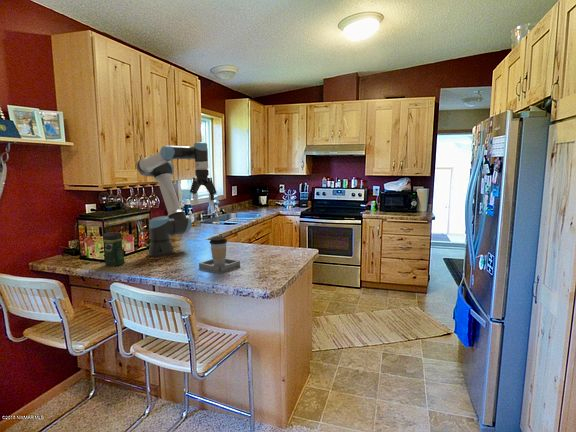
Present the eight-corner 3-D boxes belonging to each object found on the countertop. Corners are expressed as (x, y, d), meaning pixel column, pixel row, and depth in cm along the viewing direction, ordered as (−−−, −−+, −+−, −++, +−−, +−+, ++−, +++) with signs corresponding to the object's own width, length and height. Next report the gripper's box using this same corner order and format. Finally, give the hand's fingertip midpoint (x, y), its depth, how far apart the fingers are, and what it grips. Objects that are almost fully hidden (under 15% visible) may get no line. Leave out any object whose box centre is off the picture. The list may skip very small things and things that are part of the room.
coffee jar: (127, 263, 198) (124, 231, 195) (116, 267, 191) (113, 234, 188) (113, 261, 201) (110, 230, 198) (102, 265, 193) (99, 233, 191)
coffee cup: (224, 268, 182) (223, 240, 180) (207, 267, 184) (206, 240, 182) (230, 263, 191) (229, 237, 189) (214, 262, 193) (213, 236, 191)
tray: (199, 268, 186) (198, 263, 186) (219, 261, 198) (219, 256, 198) (220, 273, 177) (219, 267, 177) (240, 266, 189) (239, 261, 189)
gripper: (182, 169, 206) (184, 204, 209) (211, 169, 192) (213, 207, 195) (192, 169, 212) (194, 203, 215) (221, 169, 198) (223, 205, 201)
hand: (203, 205), depth 205 cm, fingers open, 13 cm apart
